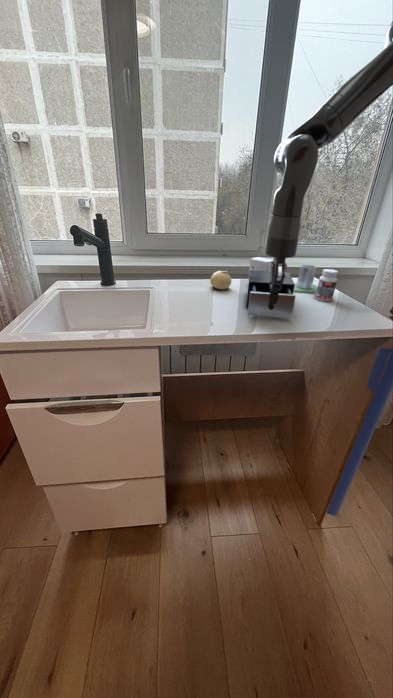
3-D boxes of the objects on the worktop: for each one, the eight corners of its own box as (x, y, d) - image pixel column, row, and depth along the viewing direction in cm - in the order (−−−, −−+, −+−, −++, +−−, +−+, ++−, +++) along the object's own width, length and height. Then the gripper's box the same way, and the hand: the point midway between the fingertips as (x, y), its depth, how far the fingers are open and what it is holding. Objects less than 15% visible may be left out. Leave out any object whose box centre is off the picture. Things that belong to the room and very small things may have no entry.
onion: (213, 291, 105) (214, 272, 102) (207, 285, 112) (208, 267, 109) (233, 290, 107) (235, 271, 104) (226, 284, 114) (228, 266, 110)
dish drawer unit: (289, 311, 90) (294, 284, 85) (246, 308, 92) (248, 281, 87) (285, 296, 102) (289, 272, 98) (246, 293, 104) (249, 270, 100)
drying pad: (314, 286, 115) (315, 284, 114) (319, 293, 106) (320, 292, 106) (289, 284, 116) (289, 282, 116) (292, 291, 108) (292, 290, 107)
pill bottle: (320, 302, 98) (327, 272, 93) (311, 296, 103) (317, 268, 98) (335, 301, 99) (343, 272, 94) (325, 295, 104) (332, 268, 99)
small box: (272, 287, 112) (276, 259, 107) (264, 290, 108) (268, 261, 103) (255, 283, 117) (258, 256, 112) (247, 285, 113) (250, 258, 108)
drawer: (291, 320, 81) (296, 297, 78) (247, 316, 83) (250, 293, 80) (286, 302, 94) (290, 282, 90) (248, 300, 96) (250, 279, 92)
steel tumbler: (310, 285, 113) (314, 264, 109) (312, 289, 108) (317, 268, 104) (295, 284, 114) (299, 264, 110) (297, 288, 109) (301, 267, 105)
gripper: (303, 240, 64) (289, 312, 73) (295, 233, 76) (284, 296, 84) (269, 238, 65) (259, 309, 74) (266, 232, 77) (258, 294, 85)
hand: (272, 302), depth 79 cm, fingers closed
